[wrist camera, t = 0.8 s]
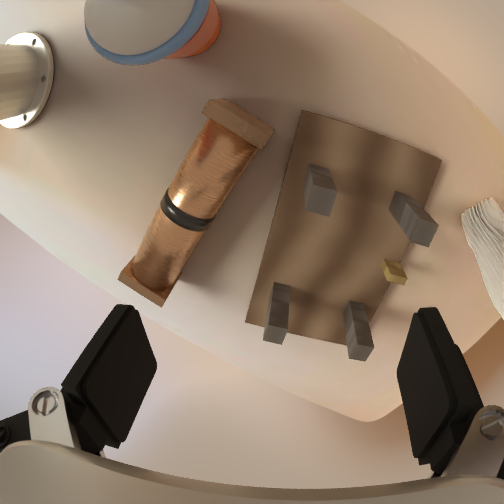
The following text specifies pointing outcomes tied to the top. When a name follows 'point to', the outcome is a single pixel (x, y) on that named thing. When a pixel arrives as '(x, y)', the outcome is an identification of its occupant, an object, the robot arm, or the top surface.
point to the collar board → (340, 233)
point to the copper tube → (195, 197)
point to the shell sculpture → (488, 246)
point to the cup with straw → (150, 28)
